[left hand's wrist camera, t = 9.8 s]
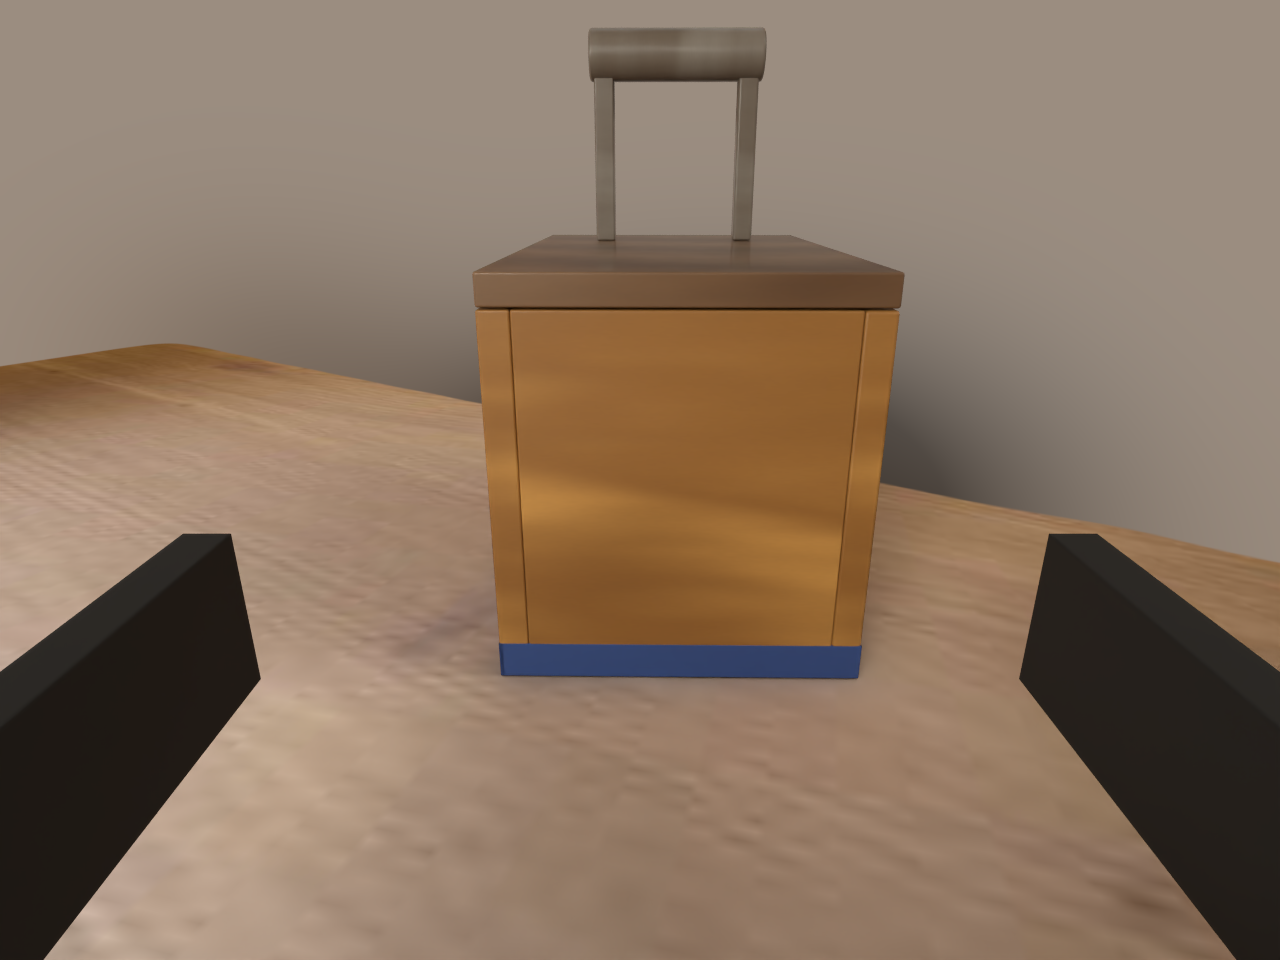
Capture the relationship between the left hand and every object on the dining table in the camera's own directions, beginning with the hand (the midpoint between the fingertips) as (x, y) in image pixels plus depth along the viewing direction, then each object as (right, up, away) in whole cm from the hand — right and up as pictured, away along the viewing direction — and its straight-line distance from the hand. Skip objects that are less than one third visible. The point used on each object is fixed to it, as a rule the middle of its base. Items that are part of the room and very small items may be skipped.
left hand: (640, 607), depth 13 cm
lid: (+1, +9, +13) cm, 16 cm away
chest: (+1, -1, +17) cm, 17 cm away
